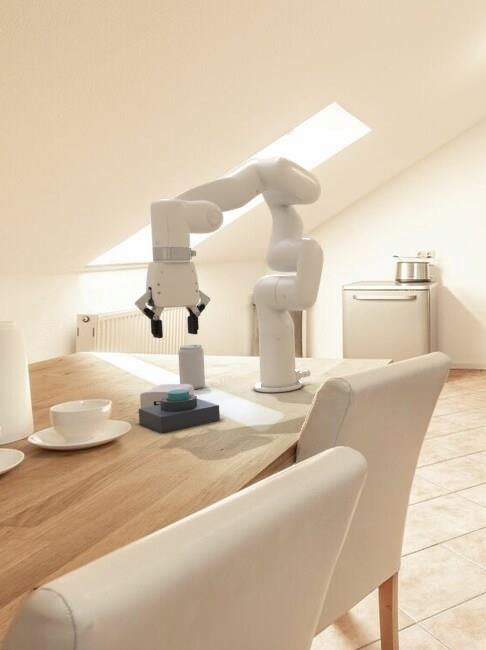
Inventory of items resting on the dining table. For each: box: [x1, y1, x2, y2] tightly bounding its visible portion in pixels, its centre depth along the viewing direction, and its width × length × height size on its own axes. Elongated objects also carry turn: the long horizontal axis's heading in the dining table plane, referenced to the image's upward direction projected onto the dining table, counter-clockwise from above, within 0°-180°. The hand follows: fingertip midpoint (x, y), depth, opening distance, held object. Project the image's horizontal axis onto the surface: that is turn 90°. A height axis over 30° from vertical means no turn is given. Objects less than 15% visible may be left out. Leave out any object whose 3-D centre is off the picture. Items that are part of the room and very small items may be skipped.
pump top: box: [168, 389, 190, 401], centre depth 141 cm, size 4×4×2 cm
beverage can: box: [177, 344, 206, 390], centre depth 176 cm, size 6×6×12 cm
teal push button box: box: [138, 394, 221, 434], centre depth 142 cm, size 13×11×6 cm
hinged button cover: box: [139, 383, 195, 408], centre depth 158 cm, size 5×9×15 cm
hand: (175, 335), depth 140 cm, fingers open, 7 cm apart
